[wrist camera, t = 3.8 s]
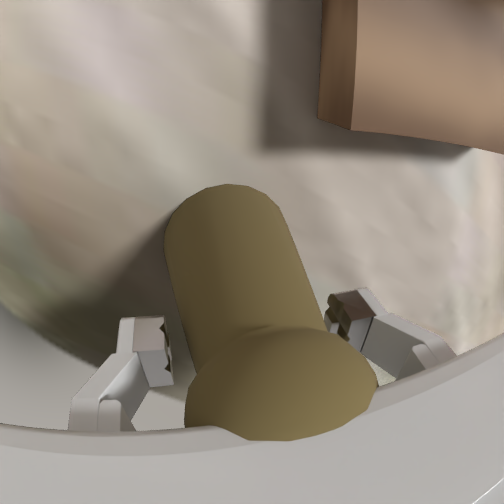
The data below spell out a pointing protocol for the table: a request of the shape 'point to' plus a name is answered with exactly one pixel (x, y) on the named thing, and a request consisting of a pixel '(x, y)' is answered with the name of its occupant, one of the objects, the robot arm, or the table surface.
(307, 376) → the cork
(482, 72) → the walnut block
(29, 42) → the table surface
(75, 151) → the table surface
